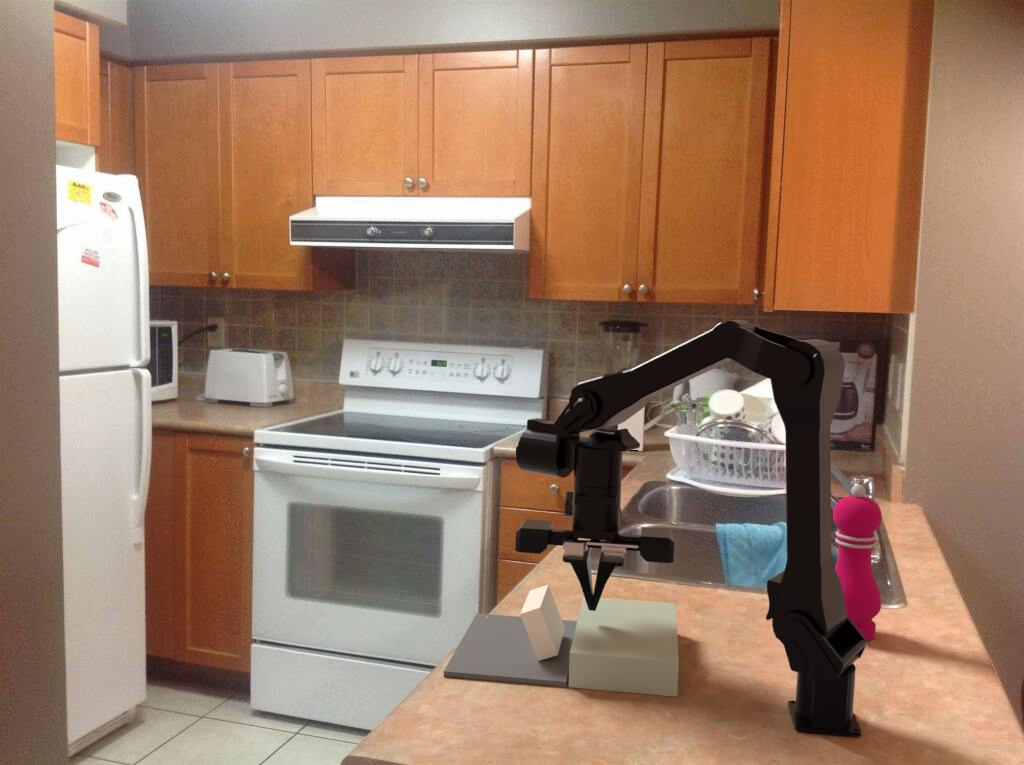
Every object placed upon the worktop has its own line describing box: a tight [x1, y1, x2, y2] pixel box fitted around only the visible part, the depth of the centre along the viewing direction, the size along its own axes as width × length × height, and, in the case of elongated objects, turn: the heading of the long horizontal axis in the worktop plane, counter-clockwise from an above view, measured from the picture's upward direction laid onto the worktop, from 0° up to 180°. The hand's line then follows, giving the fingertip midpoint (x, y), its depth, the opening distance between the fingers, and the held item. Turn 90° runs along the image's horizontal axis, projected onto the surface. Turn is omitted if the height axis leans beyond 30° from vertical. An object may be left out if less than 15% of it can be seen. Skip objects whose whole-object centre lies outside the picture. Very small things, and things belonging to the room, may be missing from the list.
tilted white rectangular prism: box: [519, 584, 565, 661], centre depth 116 cm, size 9×6×2 cm
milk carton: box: [617, 405, 646, 452], centre depth 270 cm, size 7×7×19 cm
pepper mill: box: [832, 484, 883, 642], centre depth 125 cm, size 7×7×20 cm
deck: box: [568, 596, 680, 698], centre depth 115 cm, size 20×12×4 cm, turn 171°
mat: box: [443, 613, 578, 688], centre depth 117 cm, size 20×14×1 cm
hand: (592, 609), depth 116 cm, fingers closed
